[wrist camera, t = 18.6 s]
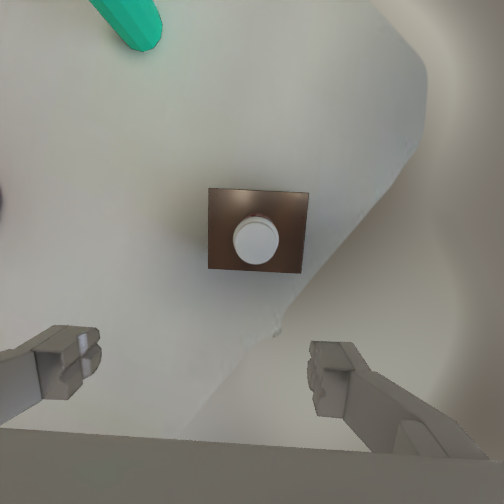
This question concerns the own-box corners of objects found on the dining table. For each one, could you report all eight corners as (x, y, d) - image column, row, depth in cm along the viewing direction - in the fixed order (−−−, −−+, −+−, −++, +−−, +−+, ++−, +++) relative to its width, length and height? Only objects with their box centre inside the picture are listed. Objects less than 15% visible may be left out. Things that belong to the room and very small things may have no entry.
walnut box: (299, 193, 36) (309, 192, 29) (293, 260, 38) (301, 273, 31) (218, 189, 36) (208, 187, 29) (217, 256, 38) (207, 268, 32)
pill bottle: (283, 231, 30) (292, 243, 22) (257, 257, 31) (256, 278, 23) (256, 204, 30) (255, 207, 21) (230, 232, 30) (219, 244, 22)
